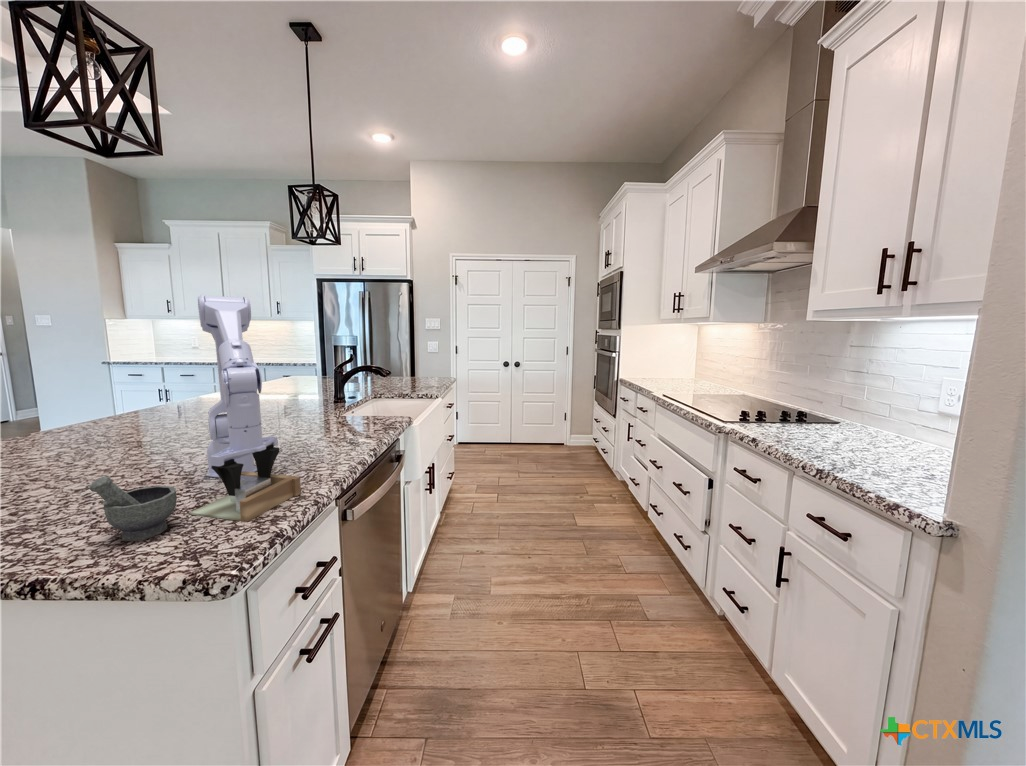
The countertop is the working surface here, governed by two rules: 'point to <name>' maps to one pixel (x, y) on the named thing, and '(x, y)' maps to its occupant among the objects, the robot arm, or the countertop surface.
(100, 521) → the countertop surface
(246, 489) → the bracket
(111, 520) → the mortar and pestle
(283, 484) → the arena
